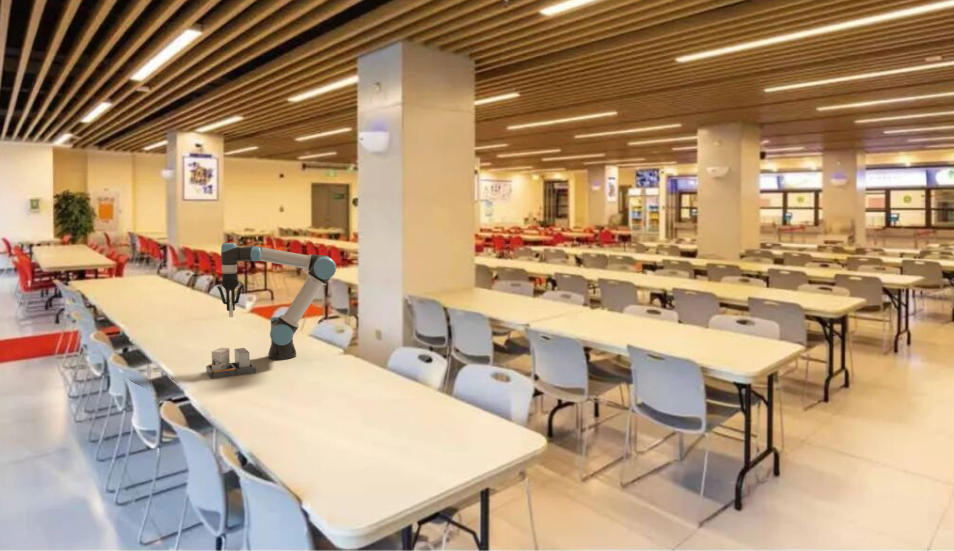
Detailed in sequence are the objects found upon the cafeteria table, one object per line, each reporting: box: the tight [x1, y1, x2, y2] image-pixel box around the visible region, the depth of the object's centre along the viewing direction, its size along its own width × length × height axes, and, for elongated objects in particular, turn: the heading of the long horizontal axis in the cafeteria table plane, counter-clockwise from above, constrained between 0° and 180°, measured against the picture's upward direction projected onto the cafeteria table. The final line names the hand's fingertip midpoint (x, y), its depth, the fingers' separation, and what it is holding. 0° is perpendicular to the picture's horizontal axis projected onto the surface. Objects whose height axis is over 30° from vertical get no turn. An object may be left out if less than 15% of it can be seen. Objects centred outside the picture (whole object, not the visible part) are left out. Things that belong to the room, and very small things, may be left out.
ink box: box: [211, 347, 231, 371], centre depth 304 cm, size 9×5×12 cm, turn 170°
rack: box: [206, 347, 257, 380], centre depth 307 cm, size 21×15×11 cm
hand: (231, 316), depth 318 cm, fingers closed
